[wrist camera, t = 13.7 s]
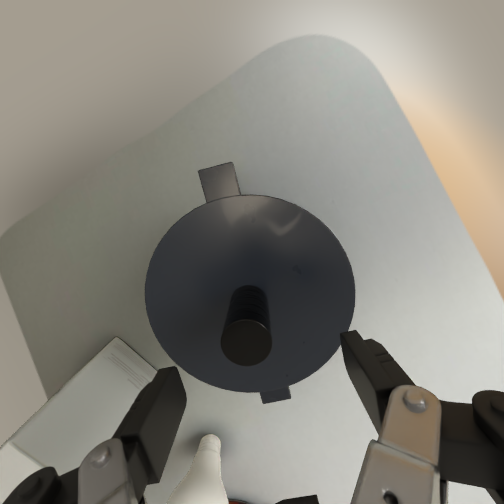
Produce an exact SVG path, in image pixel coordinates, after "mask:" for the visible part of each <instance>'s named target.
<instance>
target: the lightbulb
mask: <svg viewBox="0 0 504 504" xmlns="http://www.w3.org/2000/svg"><path fill="white" fill-rule="evenodd" d="M220 450H221V442H220V439H219V438H218V437H217V436H215V435H212V434H208V435H205V436H204V437H203V438H202V439H201V441H200V444H199V447H198V451H197V453H196V455H195V456H194V459H193V462H192V465H191V467H190V470H189V471H188V473H187V475H186V476H185V477H184V478H183V480H182V481H181V482H180V483H179V485H178V486H177V487H176V488H175V490H174V491H173V492H172V494H171V496H170V498H169V500H168V502H167V504H229V502H228V498H227V495H226V492H225V488H224V486H223V483H222V479H221V458H220Z"/></svg>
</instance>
